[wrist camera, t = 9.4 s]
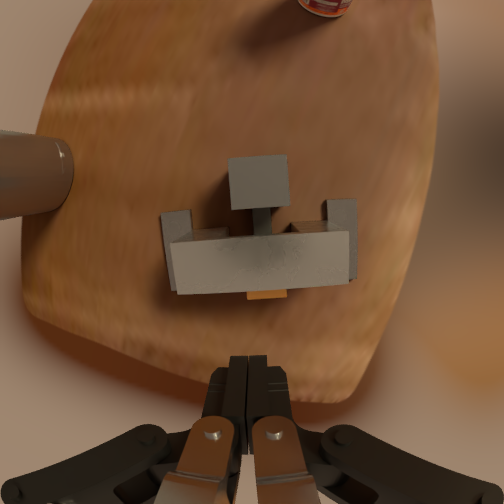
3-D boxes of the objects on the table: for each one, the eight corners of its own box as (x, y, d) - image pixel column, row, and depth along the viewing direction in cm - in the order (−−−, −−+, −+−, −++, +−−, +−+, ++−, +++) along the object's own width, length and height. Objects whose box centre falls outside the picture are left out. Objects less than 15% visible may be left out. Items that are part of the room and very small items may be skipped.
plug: (288, 283, 27) (294, 303, 22) (244, 286, 27) (240, 306, 22) (281, 161, 25) (286, 154, 20) (234, 164, 25) (227, 158, 20)
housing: (354, 276, 27) (381, 303, 20) (173, 288, 28) (148, 317, 21) (354, 198, 25) (384, 202, 18) (162, 212, 26) (130, 220, 19)
